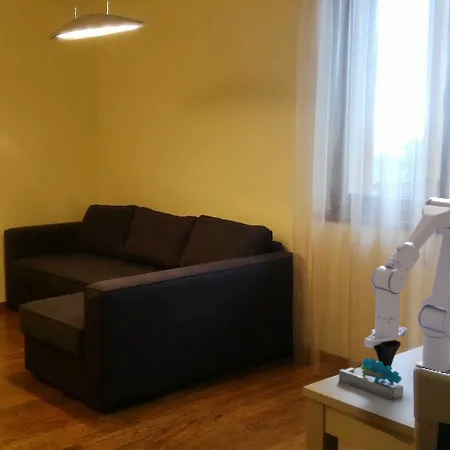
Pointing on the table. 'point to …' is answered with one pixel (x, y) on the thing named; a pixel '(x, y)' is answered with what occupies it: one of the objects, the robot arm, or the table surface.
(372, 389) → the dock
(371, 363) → the gear
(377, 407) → the table surface
